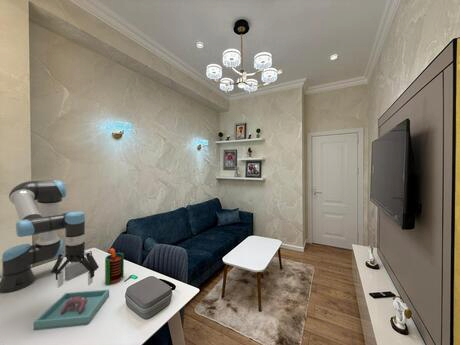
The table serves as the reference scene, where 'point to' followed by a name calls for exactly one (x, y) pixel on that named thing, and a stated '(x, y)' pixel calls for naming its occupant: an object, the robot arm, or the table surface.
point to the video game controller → (71, 304)
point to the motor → (114, 267)
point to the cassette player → (74, 270)
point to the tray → (72, 317)
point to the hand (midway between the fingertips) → (75, 284)
